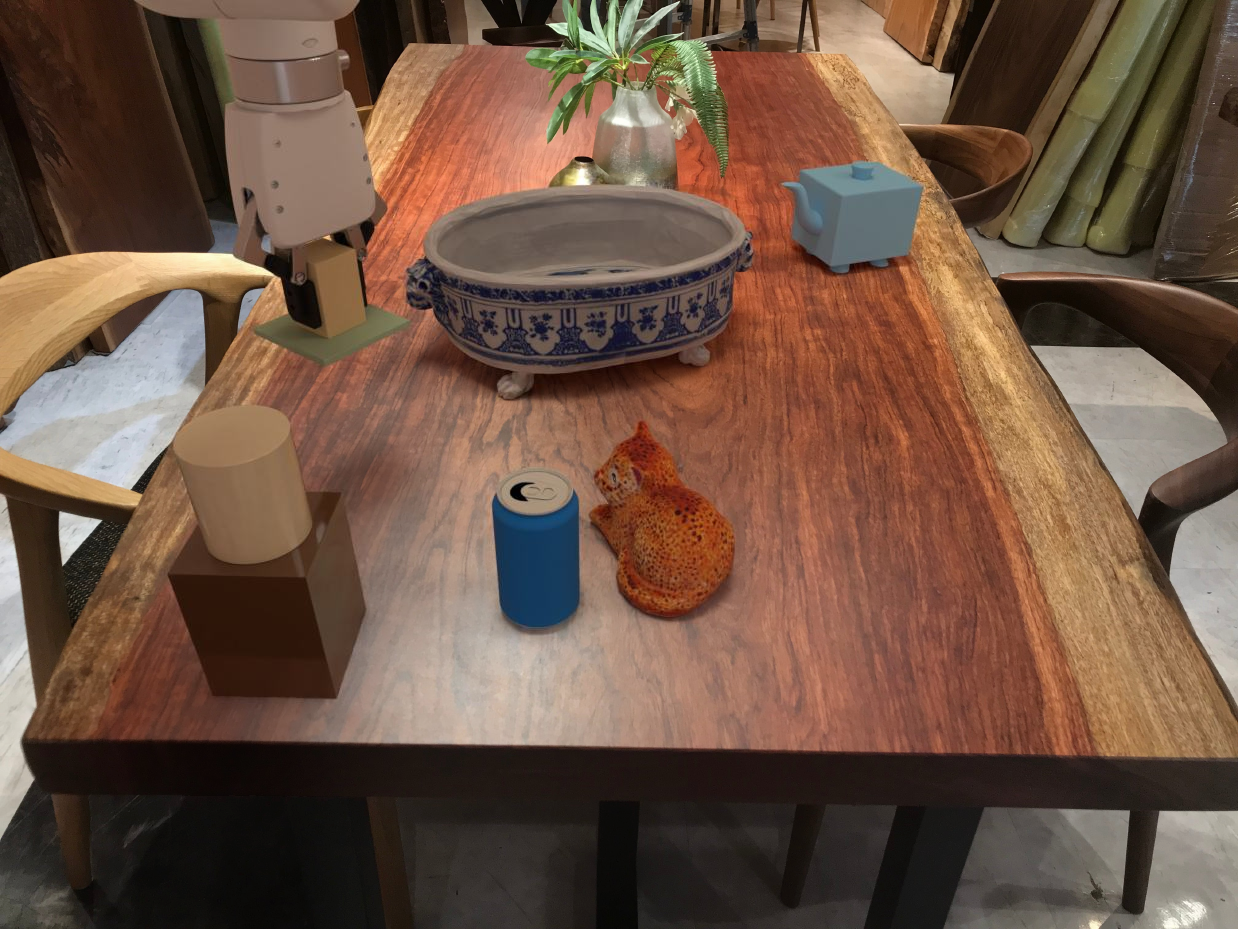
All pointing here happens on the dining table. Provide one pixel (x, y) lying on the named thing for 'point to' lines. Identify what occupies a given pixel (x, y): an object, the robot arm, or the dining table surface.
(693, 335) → the decorative bowl
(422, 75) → the dining table surface
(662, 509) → the figurine
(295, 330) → the block on board
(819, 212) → the teapot
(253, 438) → the cylinder on cube
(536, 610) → the beverage can
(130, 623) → the dining table surface
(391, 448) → the dining table surface
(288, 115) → the robot arm
